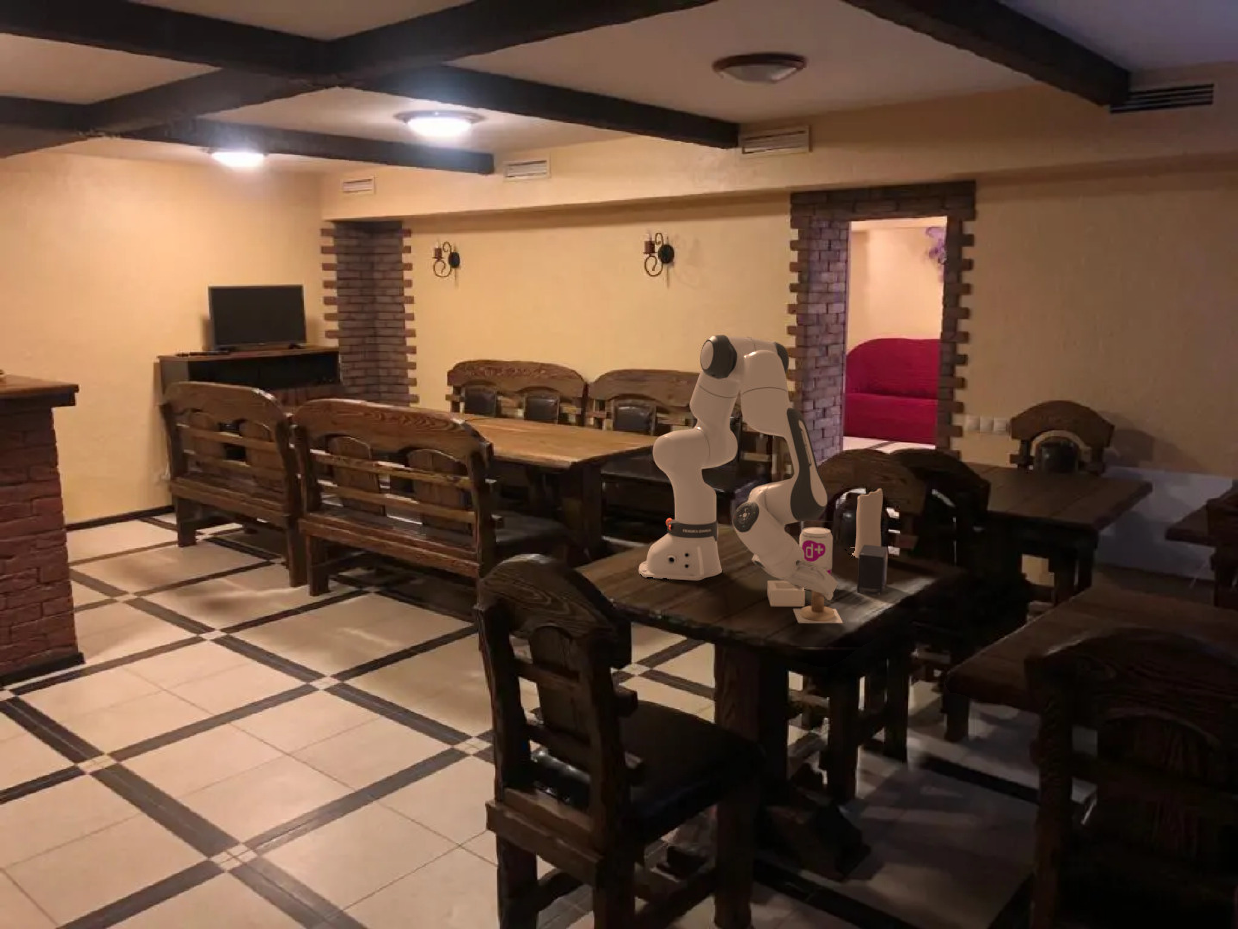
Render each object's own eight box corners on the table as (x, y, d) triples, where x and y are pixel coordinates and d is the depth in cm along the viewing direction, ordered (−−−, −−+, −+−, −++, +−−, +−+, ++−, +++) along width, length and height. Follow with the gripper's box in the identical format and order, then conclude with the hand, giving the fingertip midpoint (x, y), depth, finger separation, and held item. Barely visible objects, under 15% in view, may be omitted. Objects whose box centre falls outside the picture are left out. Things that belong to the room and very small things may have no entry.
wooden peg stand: (803, 621, 226) (803, 585, 224) (798, 610, 233) (799, 575, 232) (836, 621, 225) (837, 585, 224) (831, 610, 233) (832, 575, 231)
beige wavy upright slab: (858, 547, 292) (860, 480, 289) (885, 558, 279) (888, 489, 276) (837, 549, 290) (839, 482, 286) (863, 561, 277) (865, 491, 273)
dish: (770, 608, 237) (771, 590, 236) (767, 598, 245) (767, 580, 244) (804, 608, 236) (804, 590, 236) (800, 598, 244) (800, 580, 244)
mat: (798, 625, 225) (798, 622, 225) (792, 611, 235) (792, 608, 234) (842, 625, 224) (843, 622, 224) (835, 611, 234) (835, 608, 234)
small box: (883, 597, 244) (884, 556, 242) (856, 595, 247) (857, 554, 245) (887, 585, 254) (888, 545, 252) (861, 583, 256) (862, 544, 254)
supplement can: (825, 594, 247) (827, 535, 245) (794, 589, 251) (795, 532, 249) (835, 585, 254) (837, 528, 252) (804, 581, 258) (805, 525, 256)
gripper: (823, 556, 213) (855, 592, 220) (761, 537, 230) (792, 571, 237) (808, 579, 211) (840, 615, 218) (746, 558, 229) (778, 592, 235)
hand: (815, 592), depth 228 cm, fingers open, 8 cm apart
